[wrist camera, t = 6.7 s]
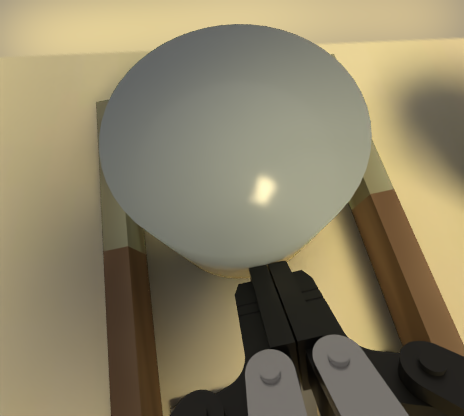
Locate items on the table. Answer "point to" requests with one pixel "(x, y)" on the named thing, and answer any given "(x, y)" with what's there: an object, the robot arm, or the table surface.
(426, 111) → the table surface
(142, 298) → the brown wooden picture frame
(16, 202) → the table surface
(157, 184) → the slate stoneware canister
